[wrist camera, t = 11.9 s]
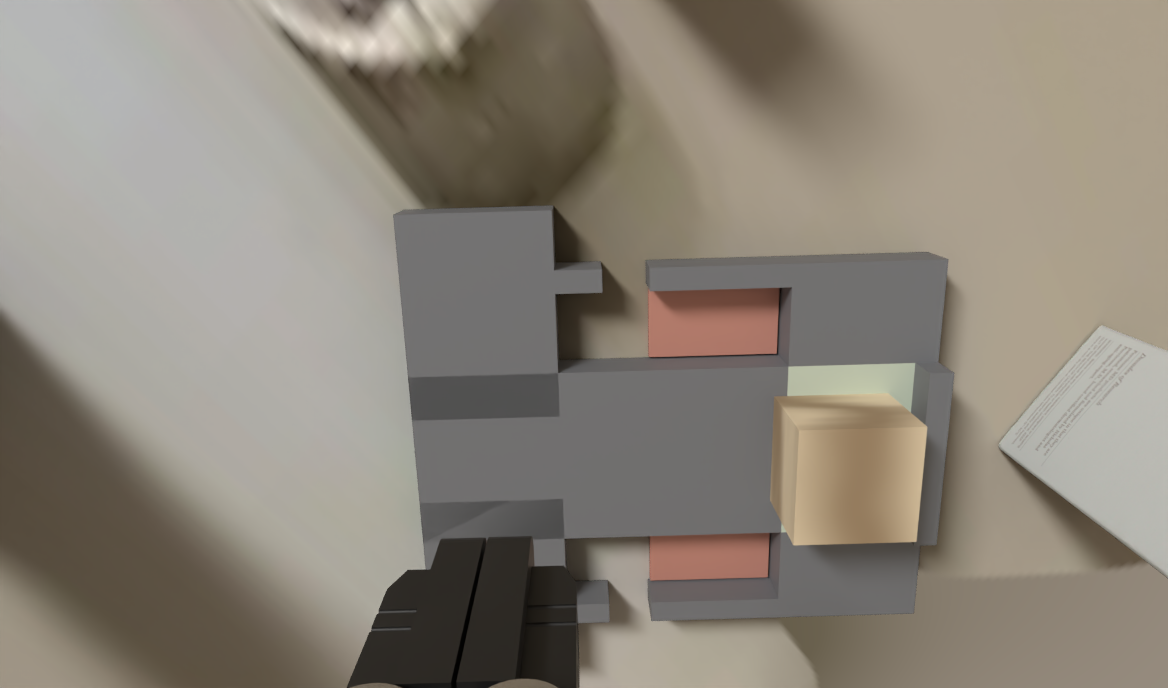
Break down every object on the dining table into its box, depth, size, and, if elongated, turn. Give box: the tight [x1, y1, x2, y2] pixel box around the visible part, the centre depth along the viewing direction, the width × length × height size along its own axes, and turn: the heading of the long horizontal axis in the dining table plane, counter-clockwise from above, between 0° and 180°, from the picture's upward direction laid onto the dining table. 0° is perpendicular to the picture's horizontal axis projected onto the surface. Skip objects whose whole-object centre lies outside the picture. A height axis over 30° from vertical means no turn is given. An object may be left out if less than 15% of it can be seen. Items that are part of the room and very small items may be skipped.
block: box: [770, 393, 927, 545], centre depth 33 cm, size 5×5×4 cm
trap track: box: [393, 206, 954, 623], centre depth 35 cm, size 23×22×4 cm
